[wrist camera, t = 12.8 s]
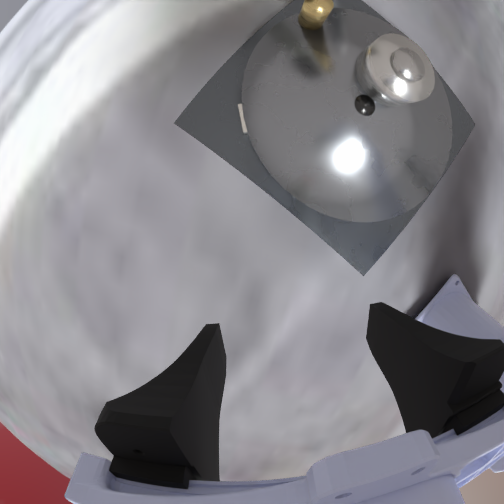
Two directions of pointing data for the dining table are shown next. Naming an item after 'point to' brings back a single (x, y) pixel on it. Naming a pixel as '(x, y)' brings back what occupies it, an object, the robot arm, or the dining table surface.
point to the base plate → (248, 163)
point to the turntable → (339, 119)
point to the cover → (395, 71)
